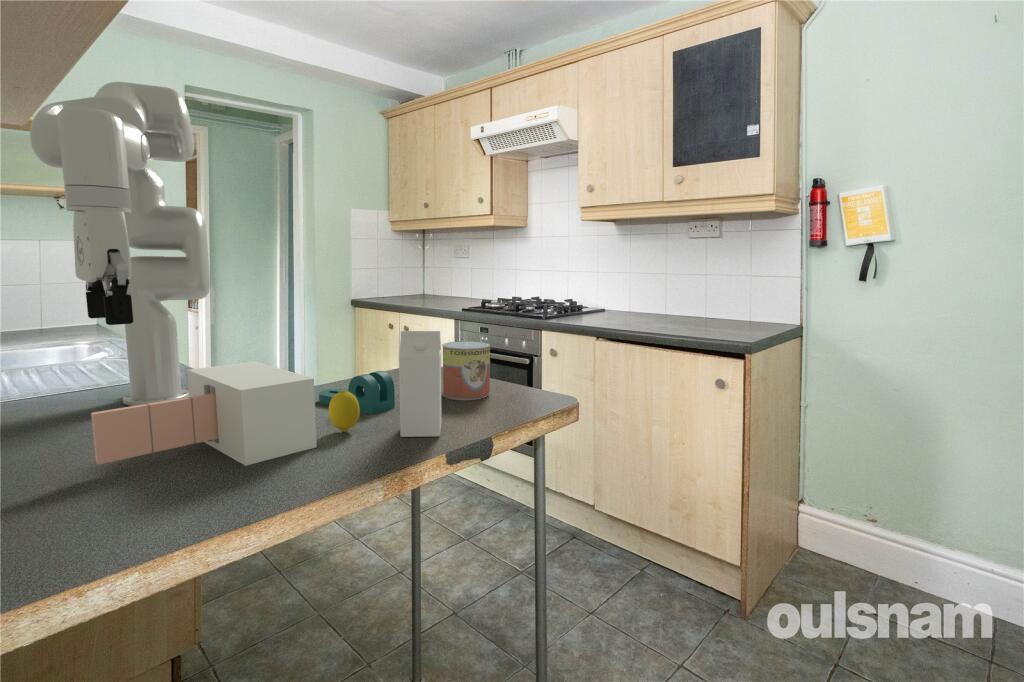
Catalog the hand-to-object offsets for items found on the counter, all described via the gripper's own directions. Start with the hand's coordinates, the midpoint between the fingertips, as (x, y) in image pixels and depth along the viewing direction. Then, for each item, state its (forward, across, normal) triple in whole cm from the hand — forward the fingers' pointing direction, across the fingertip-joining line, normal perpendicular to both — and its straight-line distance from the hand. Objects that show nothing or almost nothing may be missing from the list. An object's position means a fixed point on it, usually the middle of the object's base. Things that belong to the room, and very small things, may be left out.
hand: (110, 320), depth 83 cm
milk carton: (+23, +19, +43) cm, 52 cm away
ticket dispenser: (+23, +2, +19) cm, 29 cm away
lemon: (+23, +9, +33) cm, 41 cm away
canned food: (+23, +4, +69) cm, 73 cm away
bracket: (+23, -7, +45) cm, 51 cm away
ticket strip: (+20, +2, +5) cm, 21 cm away
